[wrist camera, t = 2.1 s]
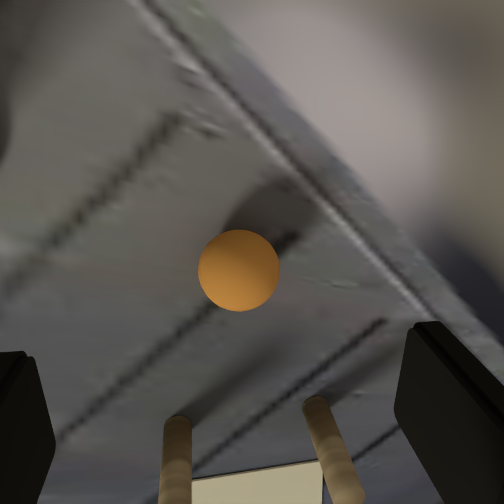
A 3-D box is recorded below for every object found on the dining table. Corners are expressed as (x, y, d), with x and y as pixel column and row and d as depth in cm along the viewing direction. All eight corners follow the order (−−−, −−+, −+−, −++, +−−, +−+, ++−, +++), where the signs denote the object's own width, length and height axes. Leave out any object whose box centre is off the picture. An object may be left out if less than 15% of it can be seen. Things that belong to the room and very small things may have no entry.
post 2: (302, 398, 37) (333, 490, 29) (328, 394, 37) (366, 485, 29) (302, 417, 38) (332, 513, 30) (327, 414, 38) (364, 507, 30)
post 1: (162, 417, 36) (153, 520, 28) (189, 413, 36) (189, 514, 28) (165, 438, 37) (158, 543, 29) (193, 434, 37) (193, 537, 29)
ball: (193, 222, 29) (194, 253, 24) (270, 215, 30) (286, 244, 25) (201, 290, 31) (203, 332, 26) (272, 282, 32) (288, 321, 27)
